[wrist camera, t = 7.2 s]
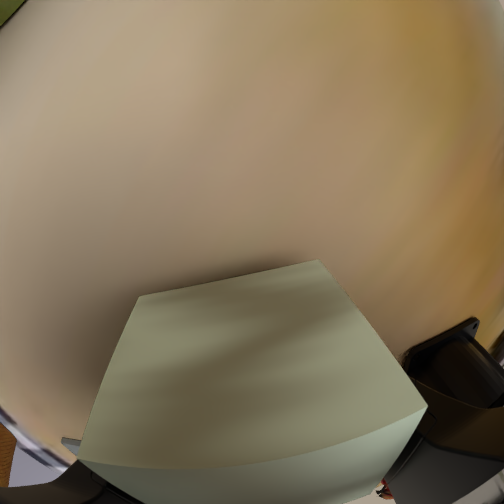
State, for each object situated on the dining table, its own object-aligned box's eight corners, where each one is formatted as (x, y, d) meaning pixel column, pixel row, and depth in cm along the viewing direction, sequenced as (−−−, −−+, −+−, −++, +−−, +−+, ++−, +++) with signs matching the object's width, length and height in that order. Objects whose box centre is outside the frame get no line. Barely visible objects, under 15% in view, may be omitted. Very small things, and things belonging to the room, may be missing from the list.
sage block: (318, 258, 9) (427, 406, 3) (324, 379, 11) (370, 494, 5) (139, 296, 8) (76, 458, 3) (193, 404, 11) (191, 524, 5)
